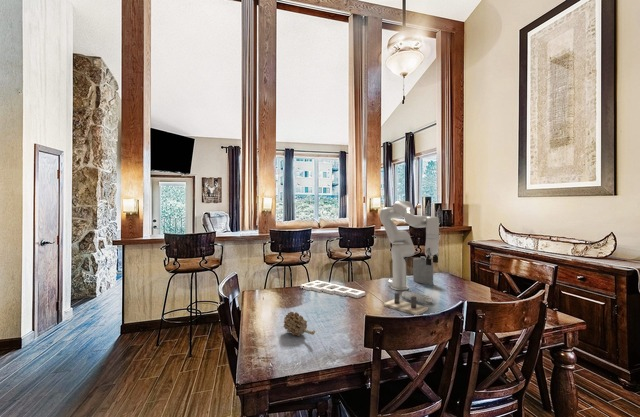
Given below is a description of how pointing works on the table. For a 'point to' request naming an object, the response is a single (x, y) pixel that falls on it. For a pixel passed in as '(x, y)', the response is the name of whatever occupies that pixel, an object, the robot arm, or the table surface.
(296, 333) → the pine cone
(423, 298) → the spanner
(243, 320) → the table surface
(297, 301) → the table surface
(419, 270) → the hip flask
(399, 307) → the peg board
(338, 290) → the holder
